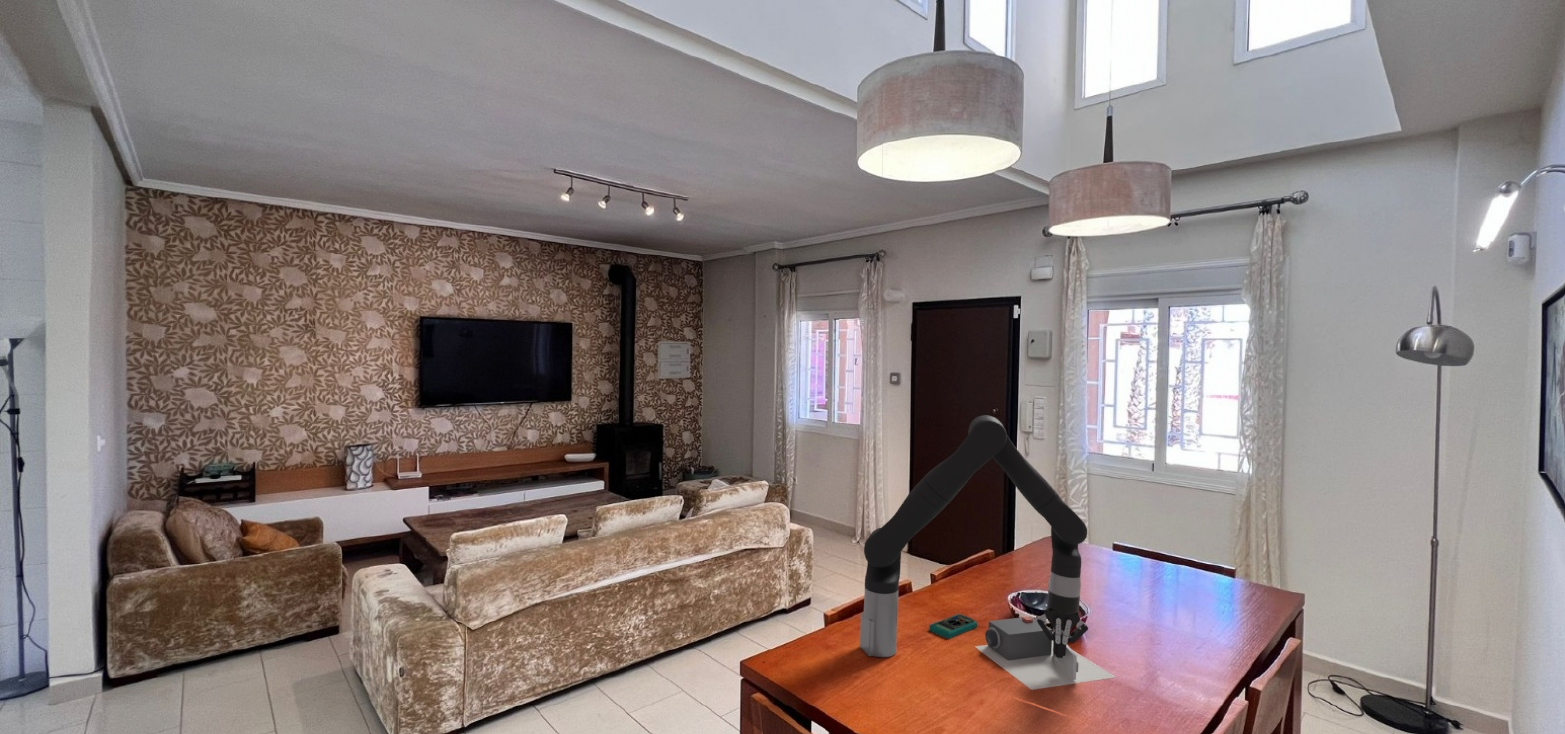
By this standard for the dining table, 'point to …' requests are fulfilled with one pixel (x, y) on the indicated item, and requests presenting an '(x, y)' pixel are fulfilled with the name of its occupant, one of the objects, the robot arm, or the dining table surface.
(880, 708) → the dining table surface
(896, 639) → the robot arm
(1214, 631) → the dining table surface
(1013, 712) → the dining table surface
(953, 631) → the digital multimeter
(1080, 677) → the mat
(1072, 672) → the side door
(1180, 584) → the dining table surface
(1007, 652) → the camera body
